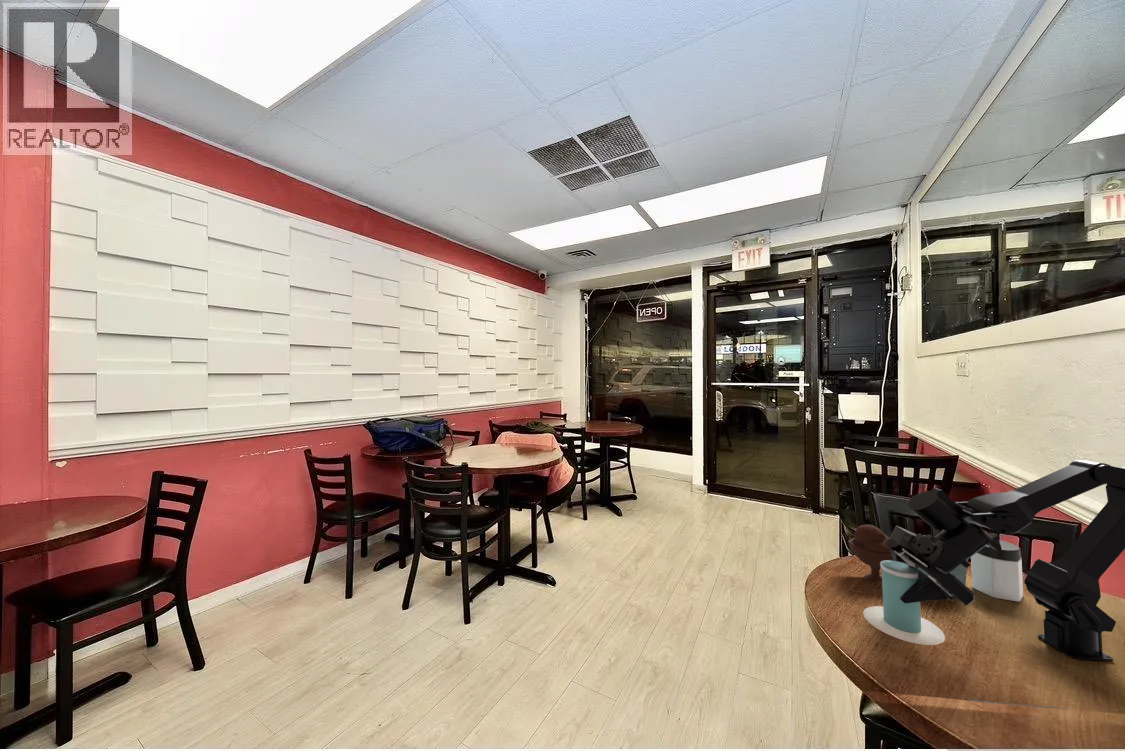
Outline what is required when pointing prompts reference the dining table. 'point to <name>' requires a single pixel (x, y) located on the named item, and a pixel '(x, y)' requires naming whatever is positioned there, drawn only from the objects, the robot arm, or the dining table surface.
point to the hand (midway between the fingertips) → (893, 592)
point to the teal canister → (899, 596)
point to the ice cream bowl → (871, 549)
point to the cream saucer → (926, 637)
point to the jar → (998, 572)
